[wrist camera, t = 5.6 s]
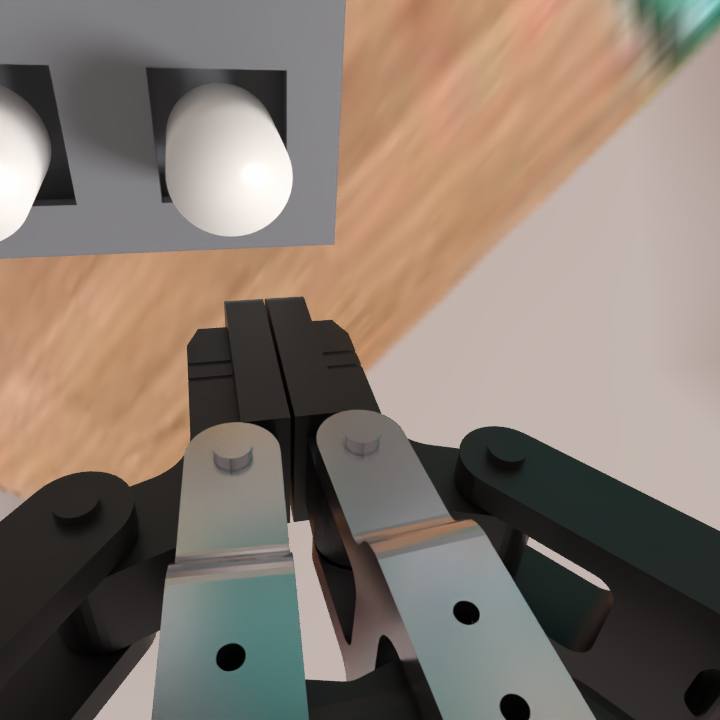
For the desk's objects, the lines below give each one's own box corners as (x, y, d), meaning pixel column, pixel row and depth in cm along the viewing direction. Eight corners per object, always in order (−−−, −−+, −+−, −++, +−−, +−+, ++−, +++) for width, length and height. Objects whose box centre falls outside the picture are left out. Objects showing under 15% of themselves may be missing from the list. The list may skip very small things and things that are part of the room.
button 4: (159, 81, 21) (158, 113, 18) (275, 83, 22) (293, 114, 19) (171, 193, 23) (172, 239, 20) (276, 191, 24) (292, 234, 21)
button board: (-314, -394, 15) (-402, -447, 13) (337, -291, 19) (361, -318, 17) (-87, 228, 24) (-114, 263, 22) (320, 215, 28) (334, 244, 26)
